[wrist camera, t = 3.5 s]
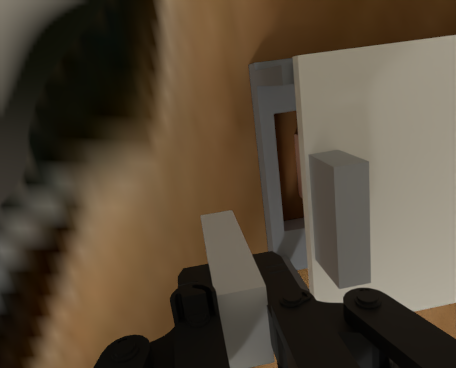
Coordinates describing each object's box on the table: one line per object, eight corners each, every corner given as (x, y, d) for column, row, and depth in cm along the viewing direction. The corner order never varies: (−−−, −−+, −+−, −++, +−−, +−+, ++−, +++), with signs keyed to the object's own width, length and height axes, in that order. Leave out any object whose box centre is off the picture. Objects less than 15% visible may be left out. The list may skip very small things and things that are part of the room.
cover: (311, 323, 22) (339, 371, 18) (292, 56, 17) (323, 48, 14) (460, 292, 23) (514, 331, 19) (478, 32, 18) (553, 18, 15)
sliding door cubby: (269, 262, 30) (302, 324, 22) (248, 64, 25) (280, 54, 17) (493, 219, 32) (597, 262, 24) (511, 30, 27) (646, 7, 19)
